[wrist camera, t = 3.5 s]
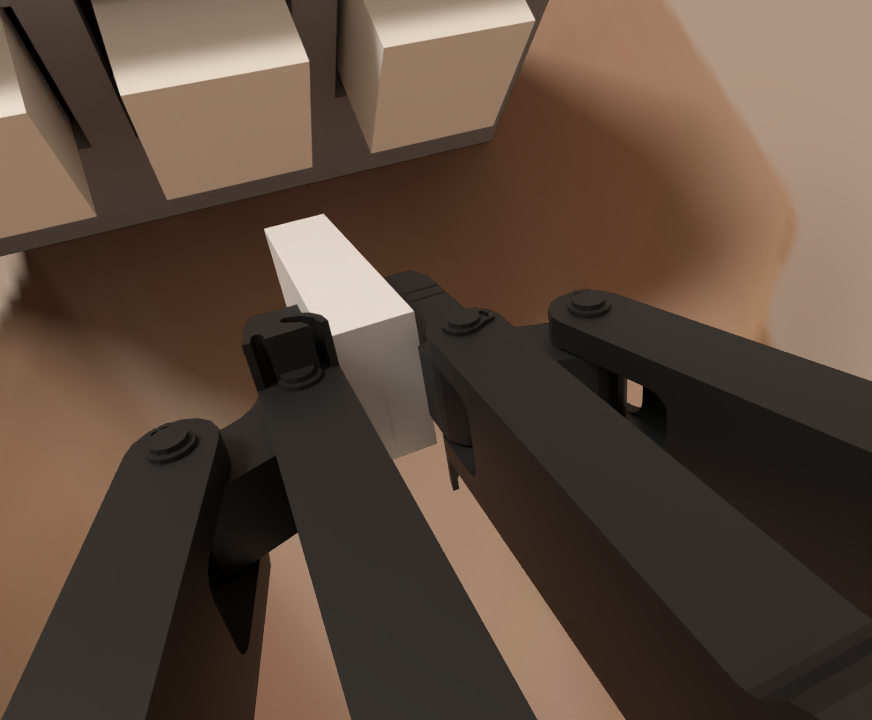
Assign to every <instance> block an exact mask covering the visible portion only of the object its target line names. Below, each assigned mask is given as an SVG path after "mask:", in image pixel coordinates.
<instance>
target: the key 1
mask: <svg viewBox="0 0 872 720" xmlns="http://www.w3.org/2000/svg"><path fill="white" fill-rule="evenodd" d="M92 217H97V215H96V211H95V208H94V204H93V201H92V197H91V194H90V190H89V187H88V183H87V180H86V176H85V173H84V169H83V166H82V162H81V159H80V155H79V152H78V148H77V145H76V141H75V138H74V134H73V131H72V127H71V124H70V120H69V118H68V116H67V114H66V113H65V111H64V109H63V108H62V106H61V104H60V103H59V101H58V99H57V98H56V96H55V94H54V93H53V91H52V89H51V87H50V86H49V84H48V82H47V81H46V79H45V77H44V76H43V74H42V72H41V71H40V69H39V67H38V66H37V64H36V62H35V60H34V59H33V57H32V55H31V54H30V52H29V50H28V49H27V47H26V45H25V44H24V42H23V40H22V39H21V37H20V35H19V33H18V32H17V30H16V28H15V27H14V25H13V23H12V22H11V20H10V18H9V17H8V15H7V13H6V11H5V10H4V8H3V7H1V8H0V238H5V237H9V236H14V235H18V234H22V233H27V232H31V231H35V230H40V229H44V228H48V227H53V226H57V225H62V224H66V223H70V222H75V221H79V220H83V219H88V218H92Z"/></svg>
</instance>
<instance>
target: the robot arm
mask: <svg viewBox="0 0 872 720" xmlns="http://www.w3.org/2000/svg"><path fill="white" fill-rule="evenodd" d="M264 231H265V234H266V238H267V241H268V245H269V248H270V251H271V255H272V258H273V262H274V265H275V268H276V272H277V275H278V279H279V282H280V286H281V289H282V292H283V296H284V299H285V303H286V306H287V307H286V308H282V309H279V310H275V311H272V312H268V313H265V314H261V315H258V316H254V317H251V318H249V320H248V321H247V323H246V325H245V327H244V329H243V330H242V332H243V335H244V337H243V341H242V348H243V351H244V354H245V357H246V360H247V362H248V365H249V368H250V371H251V374H252V377H253V380H254V383H255V385H256V388H257V391H258V395H259V396H258V399H257V401H256V403H255V404H254V406H253V407H252V408H251V409H250V411H248V412H247V413H246V414H245V415H244V416H243V417H241V418H240V419H238V420H237V421H235V422H233V423H232V424H230V425H228V426H227V427H225V428H223V429H221V430H219V428H218V427H217V426H216V425H215V424H214V423H213V422H211V421H209V420H204V419H199V418H194V419H183V420H179V421H175V422H172V423H166V424H164V425H161V426H159V427H158V428H157V429H156V428H155V429H153V430H151V431H149V432H148V433H147V434H145V435H144V436H143V437H142V438H140V439H139V440H138V441H136V442H135V443H134V444H133V445H132V446H131V447H130V449H129V450H128V451H127V453H126V454H125V455H124V457H123V459H122V461H121V463H120V466H119V468H118V470H117V472H116V474H115V476H114V478H113V481H112V483H111V485H110V487H109V489H108V491H107V494H106V496H105V498H104V500H103V502H102V504H101V506H100V509H99V511H98V513H97V515H96V517H95V519H94V522H93V524H92V526H91V528H90V530H89V532H88V534H87V537H86V539H85V541H84V543H83V545H82V547H81V550H80V552H79V554H78V556H77V558H76V560H75V562H74V565H73V567H72V569H71V571H70V573H69V575H68V578H67V580H66V582H65V584H64V586H63V588H62V590H61V593H60V595H59V597H58V599H57V601H56V603H55V606H54V608H53V610H52V612H51V614H50V616H49V618H48V621H47V623H46V625H45V627H44V629H43V631H42V634H41V636H40V638H39V640H38V642H37V644H36V646H35V649H34V651H33V653H32V655H31V657H30V659H29V662H28V664H27V666H26V668H25V670H24V672H23V674H22V677H21V679H20V681H19V683H18V685H17V687H16V689H15V692H14V694H13V696H12V698H11V700H10V702H9V705H8V707H7V709H6V711H5V713H4V715H3V717H2V720H254V714H255V705H256V696H257V687H258V678H259V669H260V659H261V650H262V641H263V632H264V623H265V614H266V605H267V595H268V586H269V577H270V568H271V563H270V557H269V553H268V552H270V551H271V550H273V549H274V548H276V547H277V546H279V545H280V544H282V543H283V542H285V541H286V540H288V539H289V538H291V537H292V536H293V535H295V534H296V533H298V534H299V538H300V541H301V545H302V548H303V552H304V555H305V559H306V562H307V566H308V569H309V573H310V576H311V580H312V583H313V587H314V590H315V594H316V597H317V601H318V604H319V608H320V611H321V615H322V618H323V622H324V625H325V629H326V632H327V636H328V639H329V643H330V646H331V650H332V653H333V657H334V660H335V664H336V667H337V671H338V674H339V678H340V681H341V685H342V688H343V692H344V695H345V699H346V702H347V706H348V709H349V713H350V716H351V720H537V718H536V716H535V715H534V713H533V711H532V709H531V707H530V706H529V704H528V702H527V700H526V699H525V697H524V695H523V693H522V691H521V690H520V688H519V686H518V684H517V682H516V681H515V679H514V677H513V675H512V673H511V672H510V670H509V668H508V666H507V664H506V663H505V661H504V659H503V657H502V656H501V654H500V652H499V650H498V648H497V647H496V645H495V643H494V641H493V639H492V638H491V636H490V634H489V632H488V630H487V629H486V627H485V625H484V623H483V621H482V620H481V618H480V616H479V614H478V613H477V611H476V609H475V607H474V605H473V604H472V602H471V600H470V598H469V596H468V595H467V593H466V591H465V589H464V587H463V586H462V584H461V582H460V580H459V578H458V577H457V575H456V573H455V571H454V570H453V568H452V566H451V564H450V562H449V561H448V559H447V557H446V555H445V553H444V552H443V550H442V548H441V546H440V544H439V543H438V541H437V539H436V537H435V535H434V534H433V532H432V530H431V528H430V527H429V525H428V523H427V521H426V519H425V518H424V516H423V514H422V512H421V510H420V509H419V507H418V505H417V503H416V501H415V500H414V498H413V496H412V494H411V492H410V491H409V489H408V487H407V485H406V484H405V482H404V480H403V478H402V476H401V475H400V473H399V471H398V469H397V467H396V466H395V464H394V462H393V459H396V458H399V457H401V456H404V455H407V454H409V453H412V452H415V451H418V450H420V449H423V448H426V447H428V446H431V445H434V444H437V440H436V434H435V429H434V423H433V420H434V421H435V423H436V424H437V425H438V427H439V428H440V430H441V431H442V432H443V438H444V444H445V450H446V456H447V462H448V468H449V474H450V480H451V484H452V488H453V491H455V490H457V489H459V485H458V477H459V475H460V477H461V478H462V480H463V481H464V483H465V484H466V485H467V487H468V488H469V490H470V491H471V493H472V494H473V496H474V497H475V499H476V500H477V502H478V503H479V505H480V506H481V508H482V509H483V510H484V512H485V513H486V515H487V516H488V518H489V519H490V521H491V522H492V524H493V525H494V527H495V528H496V530H497V531H498V532H499V534H500V535H501V537H502V538H503V540H504V541H505V543H506V544H507V546H508V547H509V549H510V550H511V552H512V553H513V555H514V556H515V557H516V559H517V560H518V562H519V563H520V565H521V566H522V568H523V569H524V571H525V572H526V574H527V575H528V577H529V578H530V579H531V581H532V582H533V584H534V585H535V587H536V588H537V590H538V591H539V593H540V594H541V596H542V597H543V599H544V600H545V602H546V603H547V604H548V606H549V607H550V609H551V610H552V612H553V613H554V615H555V616H556V618H557V619H558V621H559V622H560V624H561V625H562V626H563V628H564V629H565V631H566V632H567V634H568V635H569V637H570V638H571V640H572V641H573V643H574V644H575V646H576V647H577V649H578V650H579V651H580V653H581V654H582V656H583V657H584V659H585V660H586V662H587V663H588V665H589V666H590V668H591V669H592V671H593V672H594V673H595V675H596V676H597V678H598V679H599V681H600V682H601V684H602V685H603V687H604V688H605V690H606V691H607V693H608V694H609V695H610V697H611V698H612V700H613V701H614V703H615V704H616V706H617V707H618V709H619V710H620V712H621V713H622V715H623V716H624V718H625V719H626V720H872V381H869V380H866V379H863V378H860V377H857V376H854V375H851V374H849V373H845V372H843V371H840V370H837V369H834V368H830V367H828V366H825V365H822V364H819V363H816V362H813V361H810V360H808V359H805V358H802V357H798V356H796V355H793V354H790V353H787V352H784V351H781V350H778V349H775V348H772V347H769V346H767V345H764V344H761V343H758V342H755V341H752V340H749V339H746V338H743V337H740V336H737V335H734V334H731V333H728V332H726V331H723V330H720V329H717V328H714V327H711V326H708V325H705V324H702V323H699V322H696V321H693V320H690V319H688V318H685V317H682V316H679V315H676V314H673V313H670V312H667V311H664V310H661V309H658V308H655V307H652V306H649V305H647V304H644V303H641V302H638V301H635V300H632V299H629V298H626V297H623V296H620V295H617V294H614V293H609V292H605V291H593V290H590V289H585V290H580V291H579V290H577V291H573V292H570V293H568V294H566V295H563V296H560V297H558V298H557V299H555V300H554V301H553V302H551V304H550V306H549V309H548V316H549V323H544V324H536V325H529V326H521V327H514V326H512V325H511V324H510V323H509V322H508V321H506V320H505V319H504V318H503V317H502V316H500V315H499V314H497V313H495V312H493V311H491V310H488V309H482V308H464V307H462V306H461V305H460V304H459V303H458V302H457V301H456V300H455V299H453V298H452V297H451V296H450V295H449V294H448V293H445V291H444V290H443V289H442V288H441V287H440V286H437V284H436V283H435V282H434V281H433V280H432V279H431V278H430V277H429V276H427V275H425V274H421V273H418V272H414V271H411V270H409V271H405V272H402V273H398V274H395V275H391V276H388V277H384V278H383V277H382V276H381V275H380V274H379V273H378V272H377V271H376V270H375V269H374V268H373V267H372V265H371V264H370V263H369V262H368V261H367V260H366V259H365V258H364V257H363V256H362V255H361V254H360V253H359V251H358V250H357V249H356V248H355V247H354V246H353V245H352V244H351V243H350V242H349V241H348V240H347V239H346V238H345V236H344V235H343V234H342V233H341V232H340V231H339V230H338V229H337V228H336V227H335V226H334V225H333V224H332V222H331V221H330V220H329V219H328V218H327V217H326V216H325V215H324V214H321V215H317V216H313V217H309V218H305V219H301V220H297V221H293V222H289V223H285V224H281V225H277V226H273V227H269V228H265V229H264ZM627 379H629V380H631V381H633V382H636V383H638V384H640V385H642V386H643V398H642V406H641V407H640V408H639V407H636V406H633V405H631V404H629V403H627Z"/></svg>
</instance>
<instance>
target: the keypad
mask: <svg viewBox="0 0 872 720" xmlns="http://www.w3.org/2000/svg"><path fill="white" fill-rule="evenodd" d="M285 1H286V4H287V7H288V9H289V12H290V14H291V17H292V19H293V22H294V24H295V27H296V29H297V32H298V34H299V37H300V39H301V42H302V44H303V47H304V49H305V52H306V54H307V57H308V59H309V67H310V102H311V136H312V167H311V168H306V169H302V170H297V171H293V172H289V173H284V174H280V175H276V176H271V177H267V178H262V179H258V180H254V181H249V182H245V183H241V184H236V185H232V186H228V187H223V188H219V189H214V190H210V191H206V192H201V193H197V194H193V195H188V196H184V197H179V198H175V199H171V200H167V199H166V196H165V194H164V192H163V190H162V187H161V185H160V183H159V181H158V179H157V176H156V174H155V172H154V170H153V167H152V165H151V163H150V161H149V158H148V156H147V154H146V152H145V150H144V147H143V145H142V143H141V141H140V138H139V136H138V134H137V132H136V129H135V127H134V125H133V123H132V121H131V118H130V116H129V114H128V112H127V109H126V107H125V105H124V103H123V101H122V98H121V96H120V93H119V90H118V86H117V83H116V80H115V77H114V74H113V70H112V67H111V64H110V61H109V57H108V54H107V51H106V48H105V45H104V41H103V38H102V35H101V32H100V29H99V25H98V22H97V19H96V16H95V12H94V9H93V6H92V3H91V0H0V8H1V7H3V8H4V10H5V11H6V13H7V15H8V17H9V18H10V20H11V22H12V23H13V25H14V27H15V28H16V30H17V32H18V33H19V35H20V37H21V39H22V40H23V42H24V44H25V45H26V47H27V49H28V50H29V52H30V54H31V55H32V57H33V59H34V60H35V62H36V64H37V66H38V67H39V69H40V71H41V72H42V74H43V76H44V77H45V79H46V81H47V82H48V84H49V86H50V87H51V89H52V91H53V93H54V94H55V96H56V98H57V99H58V101H59V103H60V104H61V106H62V108H63V109H64V111H65V113H66V114H67V116H68V118H69V120H70V124H71V127H72V131H73V134H74V138H75V141H76V145H77V148H78V152H79V155H80V159H81V162H82V166H83V169H84V173H85V176H86V180H87V183H88V187H89V190H90V194H91V197H92V201H93V204H94V208H95V211H96V215H97V217H92V218H88V219H83V220H79V221H75V222H70V223H66V224H62V225H57V226H53V227H48V228H44V229H40V230H35V231H31V232H27V233H22V234H18V235H14V236H9V237H5V238H0V256H4V255H8V254H13V253H17V252H21V251H25V250H30V249H34V248H38V247H42V246H47V245H51V244H55V243H59V242H64V241H68V240H72V239H76V238H80V237H85V236H89V235H93V234H97V233H102V232H106V231H110V230H114V229H119V228H123V227H127V226H131V225H136V224H140V223H144V222H148V221H153V220H157V219H161V218H165V217H169V216H174V215H178V214H182V213H186V212H191V211H195V210H199V209H203V208H208V207H212V206H216V205H220V204H225V203H229V202H233V201H237V200H242V199H246V198H250V197H254V196H258V195H263V194H267V193H271V192H275V191H280V190H284V189H288V188H292V187H297V186H301V185H305V184H309V183H314V182H318V181H322V180H326V179H331V178H335V177H339V176H343V175H347V174H352V173H356V172H360V171H364V170H369V169H373V168H377V167H381V166H386V165H390V164H394V163H398V162H403V161H407V160H411V159H415V158H420V157H424V156H428V155H432V154H436V153H441V152H445V151H449V150H453V149H458V148H462V147H466V146H470V145H475V144H479V143H483V142H487V141H491V140H492V137H493V135H494V132H495V130H496V127H497V125H498V123H499V120H500V118H501V115H502V113H503V110H504V108H505V106H506V103H507V101H508V98H509V96H510V93H511V91H512V89H513V86H514V84H515V81H516V79H517V76H518V74H519V72H520V69H521V67H522V64H523V62H524V59H525V57H526V55H527V52H528V50H529V47H530V45H531V42H532V40H533V38H534V35H535V33H536V30H537V28H538V25H539V23H540V21H541V18H542V16H543V13H544V11H545V8H546V6H547V4H548V1H549V0H525V1H526V2H527V4H528V6H529V8H530V10H531V12H532V14H533V16H534V18H535V20H536V21H535V23H534V26H533V28H532V30H531V33H530V35H529V38H528V40H527V43H526V45H525V48H524V50H523V53H522V55H521V58H520V60H519V63H518V65H517V68H516V70H515V73H514V75H513V78H512V80H511V83H510V85H509V88H508V90H507V93H506V95H505V98H504V100H503V103H502V105H501V108H500V110H499V113H498V115H497V117H496V120H495V122H494V125H493V126H490V127H485V128H481V129H476V130H472V131H468V132H463V133H459V134H455V135H450V136H446V137H442V138H437V139H433V140H428V141H424V142H420V143H415V144H411V145H407V146H402V147H398V148H393V149H389V150H385V151H380V152H376V153H372V154H371V152H370V150H369V147H368V145H367V142H366V140H365V137H364V135H363V133H362V130H361V128H360V125H359V123H358V120H357V118H356V115H355V113H354V110H353V108H352V106H351V103H350V101H349V98H348V96H347V93H346V91H345V88H344V86H343V83H342V81H341V79H340V76H339V74H338V71H337V69H336V68H337V31H338V0H285Z"/></svg>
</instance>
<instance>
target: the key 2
mask: <svg viewBox="0 0 872 720" xmlns="http://www.w3.org/2000/svg"><path fill="white" fill-rule="evenodd" d="M535 21H536V20H535V18H534V16H533V14H532V12H531V10H530V8H529V6H528V4H527V2H526V1H525V0H338V31H337V68H336V69H337V71H338V74H339V76H340V79H341V81H342V83H343V86H344V88H345V91H346V93H347V96H348V98H349V101H350V103H351V106H352V108H353V110H354V113H355V115H356V118H357V120H358V123H359V125H360V128H361V130H362V133H363V135H364V137H365V140H366V142H367V145H368V147H369V150H370V152H371V154H372V153H376V152H380V151H385V150H389V149H393V148H398V147H402V146H407V145H411V144H415V143H420V142H424V141H428V140H433V139H437V138H442V137H446V136H450V135H455V134H459V133H463V132H468V131H472V130H476V129H481V128H485V127H490V126H493V125H494V122H495V120H496V117H497V115H498V113H499V110H500V108H501V105H502V103H503V100H504V98H505V95H506V93H507V90H508V88H509V85H510V83H511V80H512V78H513V75H514V73H515V70H516V68H517V65H518V63H519V60H520V58H521V55H522V53H523V50H524V48H525V45H526V43H527V40H528V38H529V35H530V33H531V30H532V28H533V26H534V23H535Z"/></svg>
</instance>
